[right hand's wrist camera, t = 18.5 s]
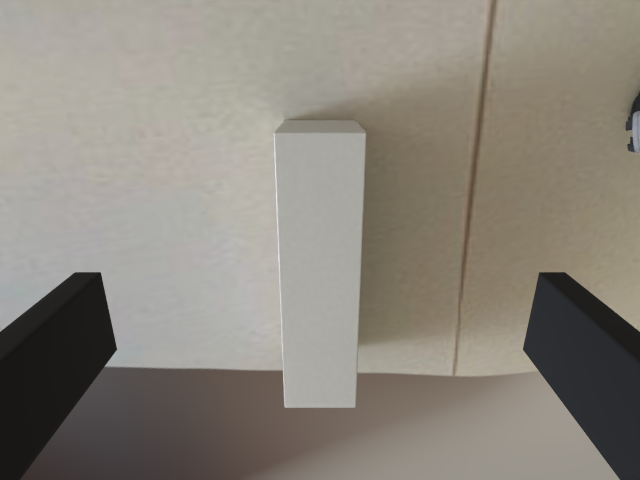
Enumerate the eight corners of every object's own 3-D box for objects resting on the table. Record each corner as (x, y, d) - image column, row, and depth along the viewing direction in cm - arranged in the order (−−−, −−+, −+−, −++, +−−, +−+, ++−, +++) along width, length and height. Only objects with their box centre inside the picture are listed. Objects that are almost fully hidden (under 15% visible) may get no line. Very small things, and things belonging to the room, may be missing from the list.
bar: (283, 119, 34) (273, 132, 27) (356, 119, 34) (366, 132, 27) (290, 347, 42) (284, 408, 35) (349, 347, 42) (355, 408, 35)
